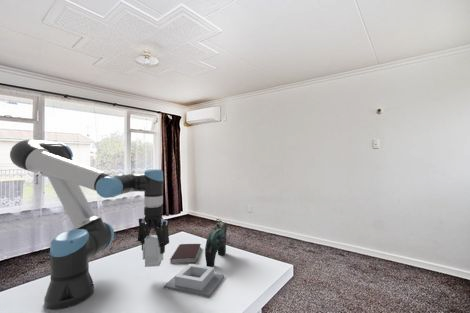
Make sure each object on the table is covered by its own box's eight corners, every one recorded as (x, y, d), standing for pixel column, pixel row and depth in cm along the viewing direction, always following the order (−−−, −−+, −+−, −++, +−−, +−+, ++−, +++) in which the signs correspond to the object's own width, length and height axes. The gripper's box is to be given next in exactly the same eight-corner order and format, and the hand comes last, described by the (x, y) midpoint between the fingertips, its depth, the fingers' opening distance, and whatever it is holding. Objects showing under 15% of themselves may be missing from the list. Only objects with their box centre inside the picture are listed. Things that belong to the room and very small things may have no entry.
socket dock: (163, 288, 92) (163, 276, 92) (183, 270, 106) (183, 260, 106) (209, 297, 85) (209, 285, 85) (224, 277, 99) (224, 267, 99)
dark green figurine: (219, 251, 128) (218, 214, 128) (230, 252, 126) (229, 215, 126) (202, 267, 109) (202, 224, 109) (215, 269, 107) (214, 226, 107)
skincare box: (161, 262, 101) (161, 234, 101) (159, 267, 97) (159, 238, 97) (146, 262, 101) (147, 234, 101) (143, 267, 96) (144, 238, 96)
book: (169, 264, 113) (169, 257, 113) (179, 248, 133) (179, 243, 133) (195, 264, 113) (195, 257, 114) (201, 248, 133) (201, 243, 133)
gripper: (178, 205, 99) (178, 259, 99) (140, 202, 106) (140, 252, 105) (168, 209, 92) (167, 267, 92) (128, 205, 98) (127, 259, 98)
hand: (153, 259), depth 99 cm, fingers closed on skincare box, 7 cm apart
